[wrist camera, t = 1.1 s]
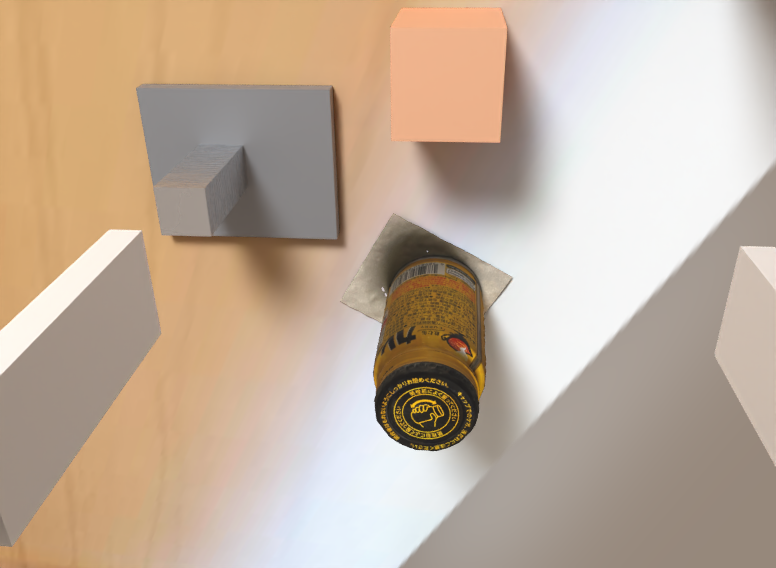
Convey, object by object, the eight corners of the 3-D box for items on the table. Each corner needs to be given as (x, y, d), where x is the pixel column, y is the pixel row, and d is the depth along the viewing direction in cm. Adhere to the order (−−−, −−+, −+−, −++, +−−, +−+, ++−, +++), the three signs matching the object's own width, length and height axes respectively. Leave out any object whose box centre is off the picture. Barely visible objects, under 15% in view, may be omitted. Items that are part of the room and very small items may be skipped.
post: (199, 144, 42) (153, 187, 35) (243, 145, 41) (204, 188, 35) (205, 186, 43) (161, 235, 37) (247, 187, 43) (211, 236, 36)
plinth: (143, 83, 41) (136, 87, 40) (332, 85, 40) (329, 89, 39) (167, 227, 46) (161, 234, 45) (339, 232, 45) (336, 239, 44)
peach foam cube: (401, 7, 38) (390, 28, 32) (500, 8, 38) (507, 27, 32) (401, 106, 40) (391, 140, 35) (495, 107, 40) (499, 142, 34)
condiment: (452, 357, 48) (448, 485, 38) (340, 300, 47) (304, 416, 36) (512, 275, 45) (526, 390, 34) (393, 210, 44) (371, 310, 33)
